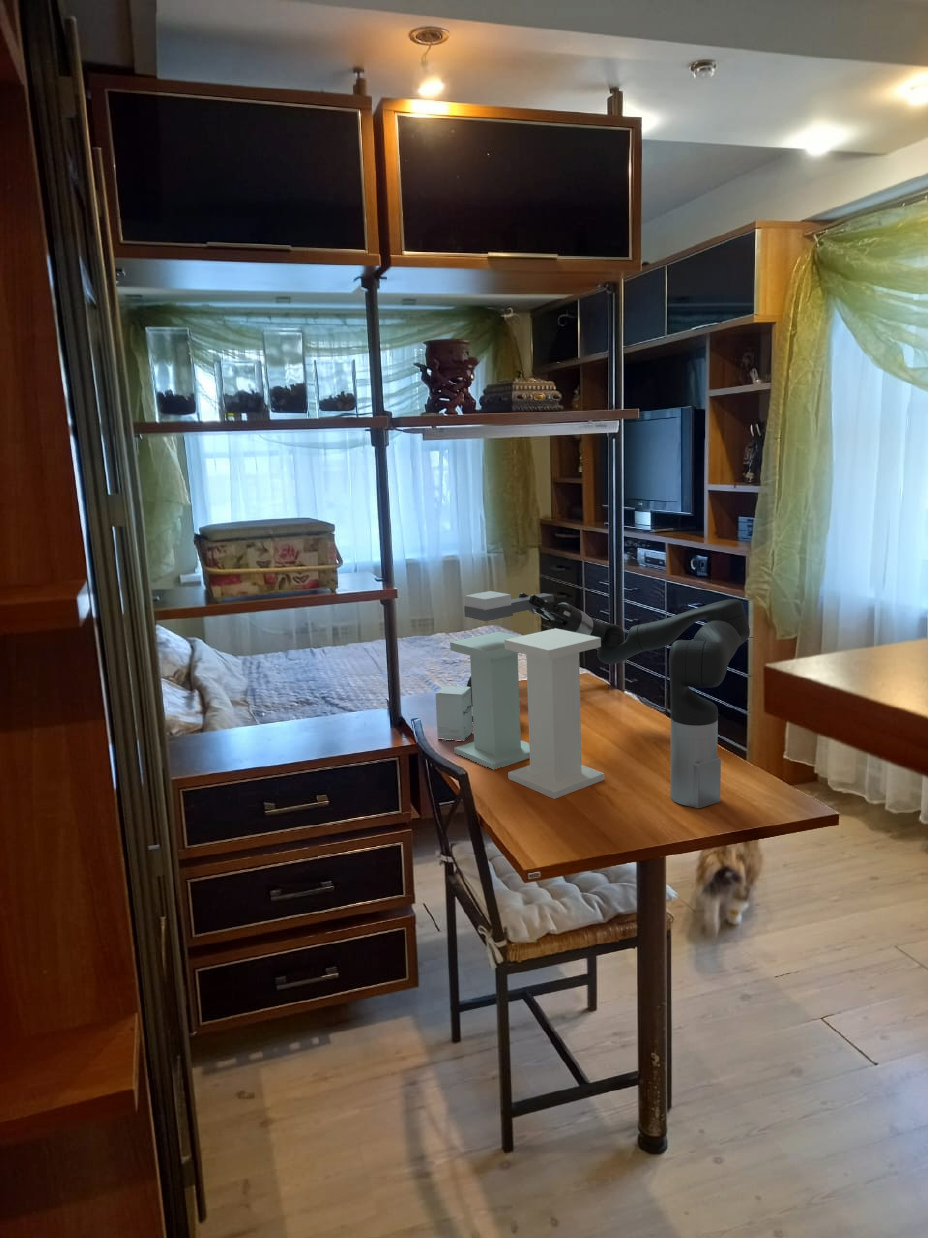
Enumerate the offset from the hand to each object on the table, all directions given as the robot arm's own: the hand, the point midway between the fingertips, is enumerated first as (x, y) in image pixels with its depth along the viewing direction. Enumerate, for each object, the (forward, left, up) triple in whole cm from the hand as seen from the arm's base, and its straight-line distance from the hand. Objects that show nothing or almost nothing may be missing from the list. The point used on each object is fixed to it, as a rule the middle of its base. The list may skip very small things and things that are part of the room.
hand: (525, 597), depth 203 cm
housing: (-1, +4, -3) cm, 5 cm away
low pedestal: (-2, +10, -37) cm, 38 cm away
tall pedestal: (-23, +7, -37) cm, 44 cm away
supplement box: (+15, +13, -37) cm, 42 cm away
